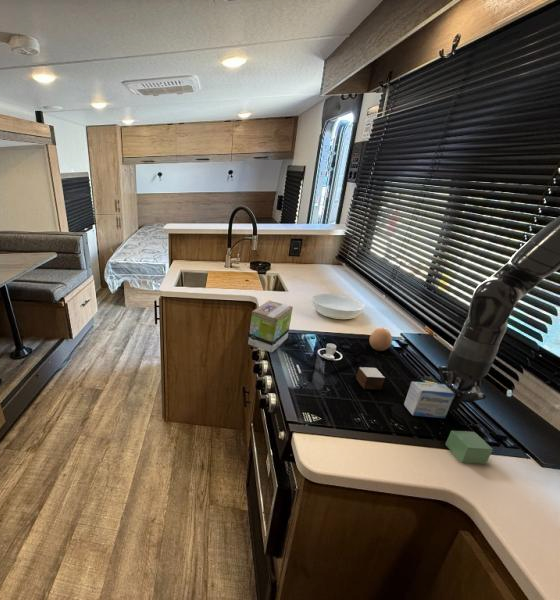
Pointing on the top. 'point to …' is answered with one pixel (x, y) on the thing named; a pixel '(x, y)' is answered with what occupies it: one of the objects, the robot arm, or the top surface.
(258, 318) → the tea box
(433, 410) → the medicine box
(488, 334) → the robot arm
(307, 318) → the top surface
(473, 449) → the sage block
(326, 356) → the white ring with knob
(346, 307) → the serving bowl
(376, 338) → the egg
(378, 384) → the walnut block
